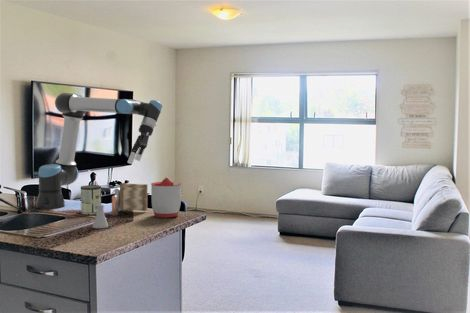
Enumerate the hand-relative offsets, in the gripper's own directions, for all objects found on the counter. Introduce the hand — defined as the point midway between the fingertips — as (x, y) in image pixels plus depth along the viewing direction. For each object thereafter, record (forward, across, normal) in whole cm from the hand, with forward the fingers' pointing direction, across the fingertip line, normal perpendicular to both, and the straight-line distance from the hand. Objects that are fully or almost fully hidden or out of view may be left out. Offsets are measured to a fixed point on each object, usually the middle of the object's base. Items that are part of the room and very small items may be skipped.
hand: (133, 161), depth 246 cm
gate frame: (+28, +6, -3) cm, 29 cm away
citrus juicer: (+22, -13, -24) cm, 35 cm away
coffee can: (+32, +12, +8) cm, 35 cm away
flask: (+40, -24, +8) cm, 47 cm away
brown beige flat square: (+23, +5, -11) cm, 26 cm away
